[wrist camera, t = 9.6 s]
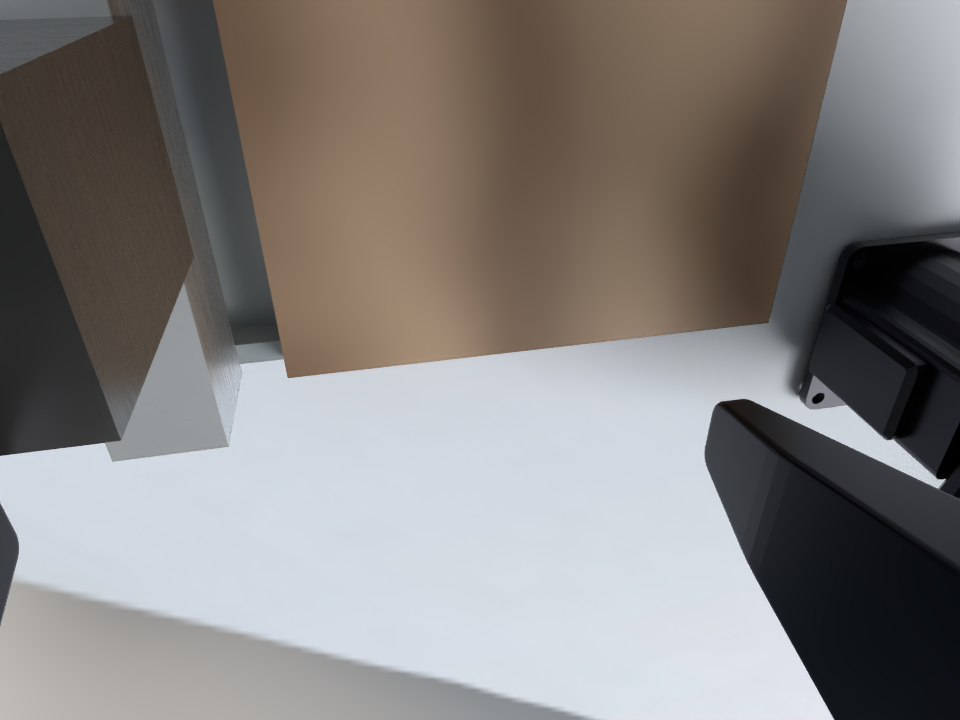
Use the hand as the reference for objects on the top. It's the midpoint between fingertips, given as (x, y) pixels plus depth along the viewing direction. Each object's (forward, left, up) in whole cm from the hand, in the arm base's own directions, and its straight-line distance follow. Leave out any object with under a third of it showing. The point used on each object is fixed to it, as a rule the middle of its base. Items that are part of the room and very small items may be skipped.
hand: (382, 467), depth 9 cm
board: (-5, -3, -12) cm, 13 cm away
